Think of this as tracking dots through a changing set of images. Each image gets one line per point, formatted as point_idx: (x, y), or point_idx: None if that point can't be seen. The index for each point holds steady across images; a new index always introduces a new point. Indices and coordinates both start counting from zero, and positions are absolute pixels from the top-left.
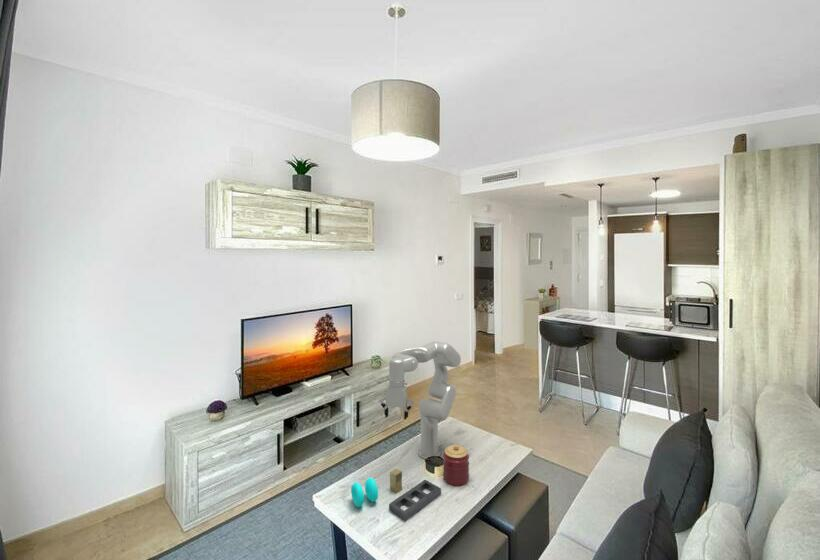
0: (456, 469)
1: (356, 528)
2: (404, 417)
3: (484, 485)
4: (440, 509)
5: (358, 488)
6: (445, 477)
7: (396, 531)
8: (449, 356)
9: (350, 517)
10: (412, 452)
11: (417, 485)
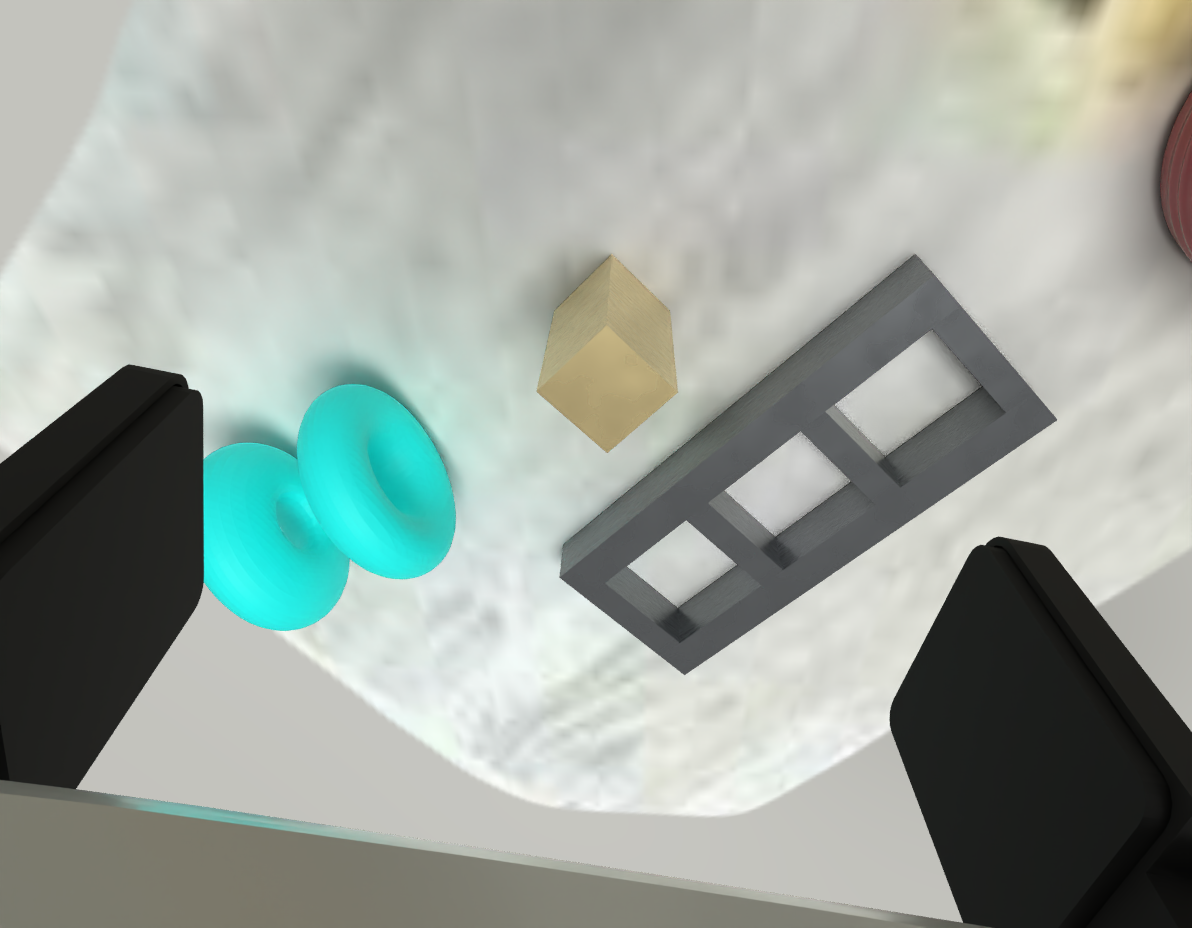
0: None
1: (364, 670)
2: (913, 774)
3: None
4: (964, 552)
5: (265, 625)
6: (1185, 224)
7: (622, 700)
8: None
9: None
10: None
11: (831, 370)
